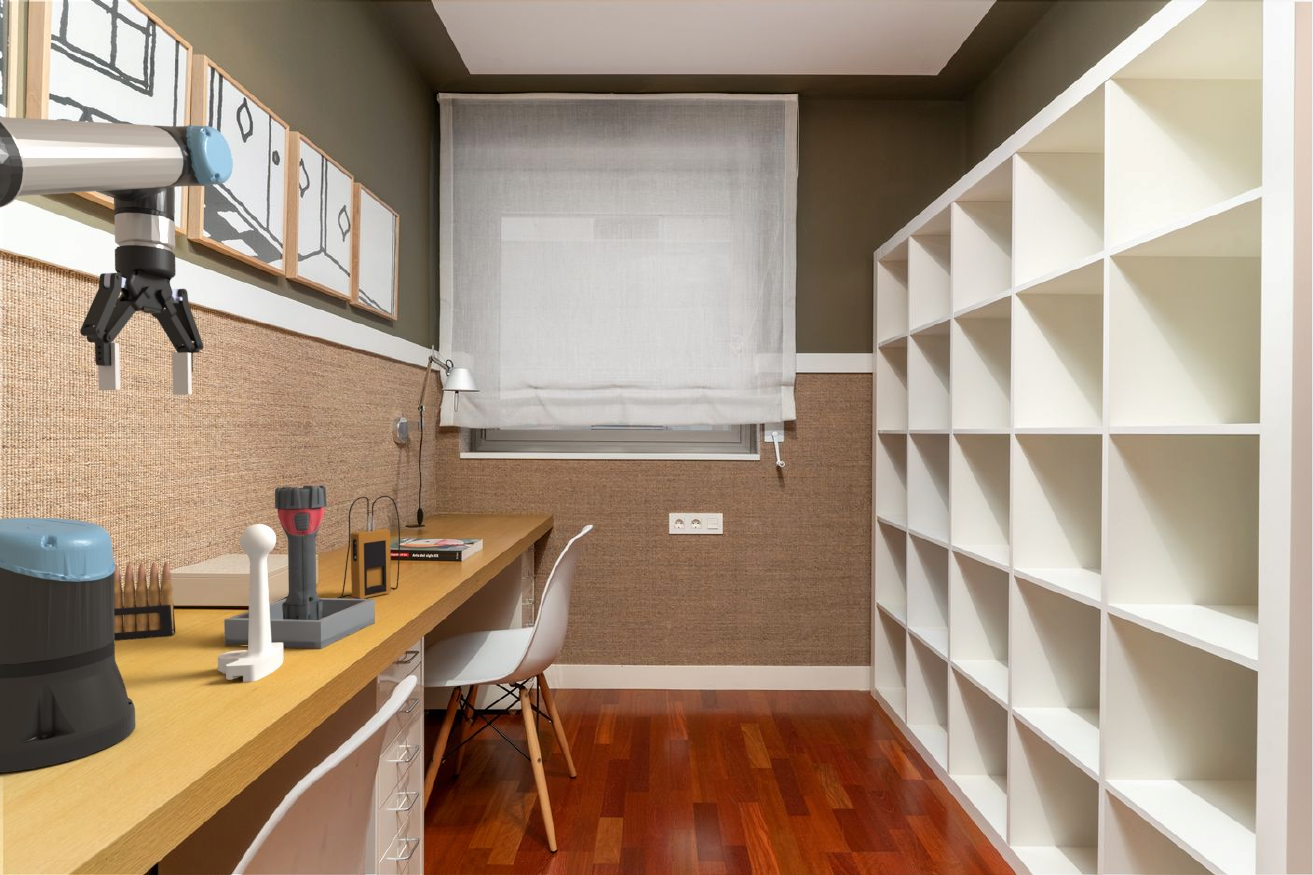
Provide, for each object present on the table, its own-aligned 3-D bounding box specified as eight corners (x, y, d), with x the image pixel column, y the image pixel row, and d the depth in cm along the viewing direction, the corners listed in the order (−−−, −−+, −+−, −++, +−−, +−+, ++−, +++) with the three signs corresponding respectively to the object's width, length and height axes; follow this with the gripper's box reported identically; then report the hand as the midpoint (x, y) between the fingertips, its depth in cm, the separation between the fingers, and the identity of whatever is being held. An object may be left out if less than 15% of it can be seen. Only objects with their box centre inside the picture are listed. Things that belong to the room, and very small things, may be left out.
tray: (321, 648, 118) (320, 621, 118) (224, 645, 120) (224, 619, 120) (374, 622, 133) (374, 599, 133) (288, 620, 136) (288, 597, 136)
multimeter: (377, 585, 166) (375, 491, 166) (406, 590, 160) (405, 493, 160) (312, 598, 154) (310, 497, 154) (342, 604, 148) (340, 499, 148)
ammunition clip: (175, 633, 128) (174, 560, 128) (172, 636, 126) (171, 562, 126) (99, 639, 125) (98, 564, 125) (95, 642, 123) (93, 566, 123)
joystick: (261, 681, 102) (259, 528, 102) (200, 684, 101) (197, 530, 101) (291, 657, 113) (288, 519, 113) (236, 659, 112) (233, 520, 112)
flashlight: (303, 620, 132) (300, 484, 131) (339, 623, 129) (337, 484, 129) (264, 631, 124) (262, 487, 124) (302, 635, 121) (299, 487, 121)
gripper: (185, 267, 129) (187, 396, 129) (45, 228, 104) (48, 388, 104) (226, 265, 128) (228, 395, 128) (95, 225, 103) (98, 387, 103)
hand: (148, 392), depth 116 cm, fingers open, 13 cm apart
